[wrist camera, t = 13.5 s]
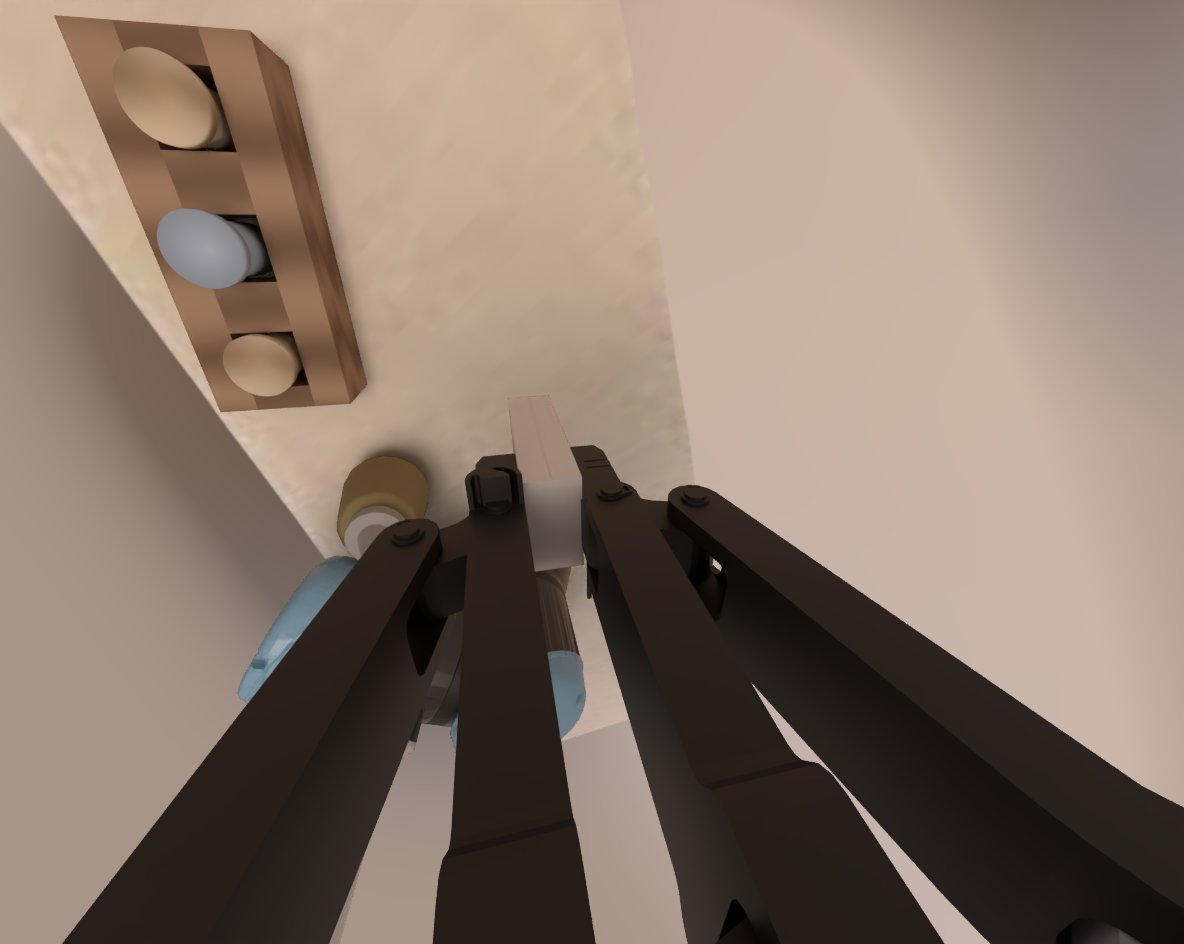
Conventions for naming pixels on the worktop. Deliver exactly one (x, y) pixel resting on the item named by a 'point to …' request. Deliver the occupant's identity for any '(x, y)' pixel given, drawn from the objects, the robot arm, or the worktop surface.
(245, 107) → the walnut block
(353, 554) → the squeeze bottle
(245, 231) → the slate plug
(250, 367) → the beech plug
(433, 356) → the worktop surface
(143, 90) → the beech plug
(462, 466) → the worktop surface
